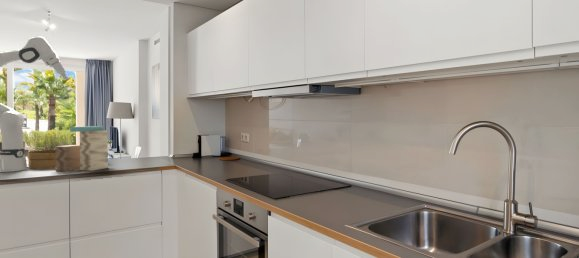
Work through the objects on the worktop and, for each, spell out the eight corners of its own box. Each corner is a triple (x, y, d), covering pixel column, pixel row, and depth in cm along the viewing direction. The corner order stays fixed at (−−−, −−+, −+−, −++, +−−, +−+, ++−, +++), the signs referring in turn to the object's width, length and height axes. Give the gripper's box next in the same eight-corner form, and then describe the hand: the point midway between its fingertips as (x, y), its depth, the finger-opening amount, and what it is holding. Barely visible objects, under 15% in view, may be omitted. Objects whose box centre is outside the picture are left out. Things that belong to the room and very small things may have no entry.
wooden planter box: (54, 169, 229) (54, 152, 229) (18, 169, 230) (17, 152, 229) (78, 164, 254) (77, 149, 254) (45, 164, 254) (44, 149, 254)
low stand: (55, 170, 222) (55, 146, 221) (74, 167, 235) (73, 144, 235) (65, 171, 220) (65, 146, 219) (83, 168, 233) (83, 145, 233)
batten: (70, 131, 214) (70, 127, 214) (100, 130, 237) (100, 126, 237) (74, 131, 213) (73, 127, 213) (103, 130, 236) (103, 126, 236)
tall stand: (80, 170, 225) (79, 131, 224) (97, 167, 239) (96, 130, 238) (91, 170, 223) (90, 131, 222) (107, 167, 237) (107, 130, 236)
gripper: (46, 62, 224) (60, 80, 231) (48, 62, 209) (63, 82, 215) (55, 57, 227) (69, 75, 234) (58, 58, 211) (72, 77, 218)
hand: (66, 79), depth 224 cm, fingers open, 8 cm apart
